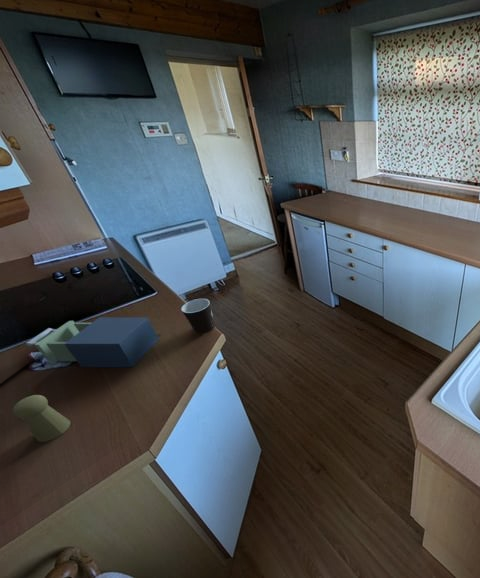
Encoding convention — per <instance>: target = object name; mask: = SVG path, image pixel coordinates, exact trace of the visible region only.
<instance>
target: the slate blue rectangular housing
mask: <svg viewBox="0 0 480 578" xmlns="http://www.w3.org/2000/svg"><path fill="white" fill-rule="evenodd" d="M90 323H91V324H90V325H89V326H87V327H86V328H85V329H83V330H82V331H81V332H79V333H78V334H77V335H75V336H74V337H73V338H71V339H70V340H69V341H67V342H66V343H65V346H66V347H67V348H68V350H69V351H70V352H71V354H72V355H73V356H74V358H75V359H76V360H77V361H76V362H77V363H78V365H79V366H80V368H134V367H136V365H137V364H138V363H139V361H141V359H142V358H143V357H144V356H145V355H146V354H147V353H148V352H149V351H150V350H151V349H152V348H153V347H154V346H155V345H156V344H157V343H158V342H159V340H160V339H159V337H158V335H157V333H156V331H155V329H154V327H153V325H152V323H151V321H150V319H149V317H108V316H107V317H103V316H102V317H98V318H97V319H94V321H92V322H90Z"/></svg>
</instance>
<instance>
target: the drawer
mask: <svg viewBox="0 0 480 578" xmlns="http://www.w3.org/2000/svg"><path fill="white" fill-rule="evenodd" d="M91 323H92V322H75V321H74V320H68V321H67V322H65V323H64V324H63V325H61V326H59V327H58V328H57V329H54V328H51V327H48V328H47V329H45V330H43V331H42V332H40V333H39V334H38V335H36V336H34V337H33V338H31V339H30V340H28V341H26V342H25V345H26V346H27V347H33V346H35V348H36V349H37V350H38V351H39V352H40V354H41V355H42V356H43V357H44V359H46V361H47V362H48V363H49V364H50V365H53V364H54V365H55V364H56V363H57V362H58V361H59V362H77V360H76V359H75V358H74V356H73V355H72V354H71V352H70V351H69V350H68V348H67V347H66V346H65V343H66V342H67V341H69V340H70V339H71V338H73V337H74V336H75V335H77V334H78V333H79V332H81V331H82V330H83V329H85V328H86V327H87V326H89V325H90V324H91Z"/></svg>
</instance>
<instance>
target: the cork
mask: <svg viewBox="0 0 480 578" xmlns="http://www.w3.org/2000/svg"><path fill="white" fill-rule="evenodd" d="M12 414H13V416H15V417H16V418H18V419H23V421H24V422H25V424H26V425H27V427H28V429H29V430H30V432H31V434H33V436H34V438H35V440H36V441H37V442H39V443H46V442H50V441H53V440H54V439H56V438H58V437H60V436H61V435H63V434H64V433H65V432H66V431H67V430H68V429H69V428H70V425H72V424H71V420H69V419H68V418H67V417H65V416H64V415H63V414H61V413H60V412H58V411H57V410H56V409H54V408H53V407H51V406H50V405H49V402H48V399H47V398H46V397H45V396H43V395H42V394H41V395H40V394H32V395H30V396H27V397H24V398H23V399H21V400H19V401H18V402H16V403H15V404H14V406H13V407H12Z"/></svg>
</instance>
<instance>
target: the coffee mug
mask: <svg viewBox="0 0 480 578" xmlns="http://www.w3.org/2000/svg"><path fill="white" fill-rule="evenodd" d="M181 312H182V314H183V315H184V317H185V318H186V320H187V321H188V323H189V325H190V326H191V328H192V329H193V331H194V333H196V334H199V335H203V334H207V333H208V332H209V333H210V332H211V331H213V329H214V328H215V321H214V316H213V310H212V306H211V301H210V300H209V299H207V298H196V299H192V300H189V301H188V302H186V303H184V304H183V305H182V306H181ZM212 325H213V326H212Z"/></svg>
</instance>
